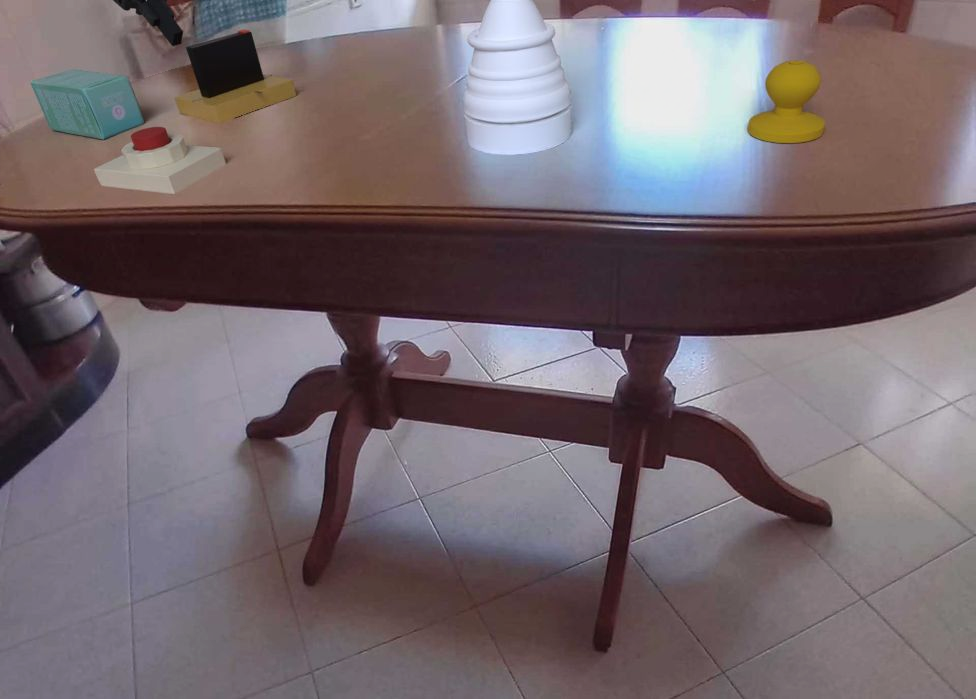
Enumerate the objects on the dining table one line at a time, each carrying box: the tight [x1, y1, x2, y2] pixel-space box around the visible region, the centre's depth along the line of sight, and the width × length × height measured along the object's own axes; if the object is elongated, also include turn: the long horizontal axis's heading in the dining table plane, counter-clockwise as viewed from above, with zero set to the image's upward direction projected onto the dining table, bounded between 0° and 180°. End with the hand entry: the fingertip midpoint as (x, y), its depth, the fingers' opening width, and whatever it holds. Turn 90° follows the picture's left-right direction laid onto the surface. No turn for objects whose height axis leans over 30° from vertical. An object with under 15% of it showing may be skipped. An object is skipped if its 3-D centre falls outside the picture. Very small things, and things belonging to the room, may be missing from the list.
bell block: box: [93, 132, 227, 195], centre depth 85 cm, size 12×9×4 cm
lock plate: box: [173, 74, 297, 124], centre depth 108 cm, size 14×14×3 cm
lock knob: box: [185, 29, 264, 98], centre depth 105 cm, size 10×2×7 cm, turn 141°
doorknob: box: [747, 59, 826, 144], centre depth 77 cm, size 8×8×8 cm
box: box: [29, 68, 145, 141], centre depth 103 cm, size 7×14×8 cm, turn 59°
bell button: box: [130, 126, 171, 151], centre depth 83 cm, size 4×4×2 cm
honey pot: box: [462, 0, 573, 156], centre depth 81 cm, size 13×13×18 cm
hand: (177, 38), depth 105 cm, fingers closed
